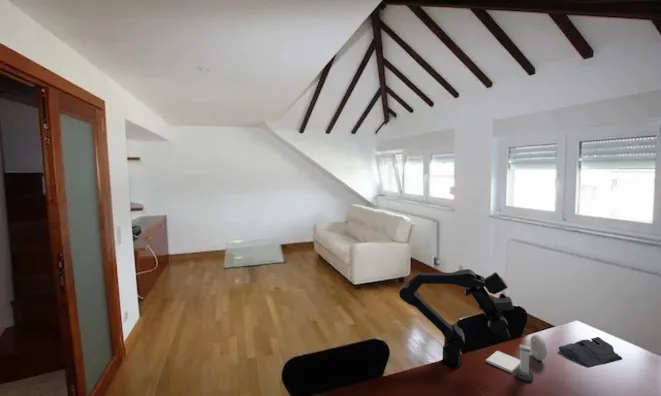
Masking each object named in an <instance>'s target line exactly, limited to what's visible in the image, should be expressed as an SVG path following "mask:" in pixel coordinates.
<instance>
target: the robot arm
mask: <svg viewBox="0 0 661 396" xmlns="http://www.w3.org/2000/svg"><path fill="white" fill-rule="evenodd" d="M423 284H427V285H429V284H430V285H431V284H432V285H435V284H436V285H455V286H458V287H463V288H465V289H464V296H465V297H468V296H469V295H471V297H472V298H473V300H474V301H475V303H476V304H477V306H478V308H479V310H481V311H482V313H483V314H484V317H485V319H489V320H488V322H487V326H488V328H489V330H490V331H491V332H492V333H495V334H497V335H498V336H501V337H503V338H504V339H505V340H507V341H509V342H510V341H512V337H511V335H510V333H509V331H508V325H509V324H508V321H507V320H506V318H505V317H504V315H502V313H503V311H511V310H512V311H513V310H514V304H513V301H512V298H511V297H510V296H508V295H506V294H505V293H500V292H502V291H505V290H507V289H508V285H507V283H506V282H505V280H504V279H503V278H502V277H501V276H500V275H499V273H498V272H497V271H495V272H493V273H492V274H489V275H488V276H487V277H484V276H482V275H480V274H477V273H475V271H474V270H473V269H470V268H469V269H468V268H466V269H460V270H456V271H453V272H422V271H419V272H417V273H416V274H415V276H414V277H412V279H410V280H409V281H408V282H405V283H404V284H402V285H401V287H400V289H399V295H398V296H399V298H400V300H403V302H405V303H407V304H408V305H411V306H412V307H414V308H416V309H417V310H418V311H419V312H420V313H421V314H422V315H423V316H424V317H425V318H426V319H427V320H428V321H430V322H431V324H433V325H434V326H435V328H437V329H438V330H439V331H440V333H442V335H443V337H444V341H443V346H442V359H441V360H440V363H441V364H443V365H446V366H448V367H450V368H452V369H455V370H456V369H457V368H458V367H459V366H461V365H462V364H463V361H462V357H463V356H462V353H461V351H462V349H463V348H464V347H465V345H466V344H465V334H464V332H463V329H462V328H460V327H459V326H458V324H457V323H456V322H454V323H453V324H451V323H449V322H448V321H447V320H445V319H444V318H443V317H442V315H440V314H439V313H438V312H437V311H436V310H435V309H434V308H433V307H431V305H430V304H428V302H427V301H426V300H424V299H423V298H422V296H421V294H420V292H419V291H418V290H419V288H420V287H421V286H422V285H423ZM498 293H499V294H498ZM490 294H491V295H490ZM497 294H498V297H497V298H494V297H493V296H492V295H497Z"/></svg>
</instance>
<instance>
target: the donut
mask: <svg viewBox="0 0 661 396" xmlns="http://www.w3.org/2000/svg"><path fill="white" fill-rule="evenodd" d="M529 343H530V345H529V346H530V352H531V354H532V355H533V357H534V359H536V361H544V360H546V358H547V355H548V352H547V345H546V341H545V339H544V338H543V337H542V336H541V335H540V334H534V335H532V336H531V337H530V342H529Z"/></svg>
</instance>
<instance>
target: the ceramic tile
mask: <svg viewBox="0 0 661 396" xmlns="http://www.w3.org/2000/svg"><path fill="white" fill-rule="evenodd" d="M485 362H486V363H488V364H489V365H492V366H495V367H496V368H499V369H501V370H504V371H506V372H508V373H510V374H513V372H514V373H515V370H516V369H519V368H520V358H519V359H518V358H517V357H515V356H511V355H509V354H506V353H504V352H502V351H500V350H496V351H495V352H494V353H493V354H491V355H490V356H489V357H488V358H486V359H485Z"/></svg>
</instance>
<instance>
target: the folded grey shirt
mask: <svg viewBox="0 0 661 396" xmlns="http://www.w3.org/2000/svg"><path fill="white" fill-rule="evenodd" d="M558 350H559V351H560V352H561V353H563V354H564V355H567V356H568V357H570V358H571V359H572V361H573V360H574V361H575V362H577V363H579V364H580V365H581V366H584V367H587V368H593V367H596V366H602V365H606V364H610V363H614V362H618V361H621V360H623V357H622V356H621V355H619V354H618V353H616V352H615V351H614V347H613V345H611V344H610V343H609V342H606V341H605V340H604V339H602V338H601V337H599V336H597V337H592V338H590V339H581V340H579V341H576V342H574V343H568V344H565V345H560V346H558Z"/></svg>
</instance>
